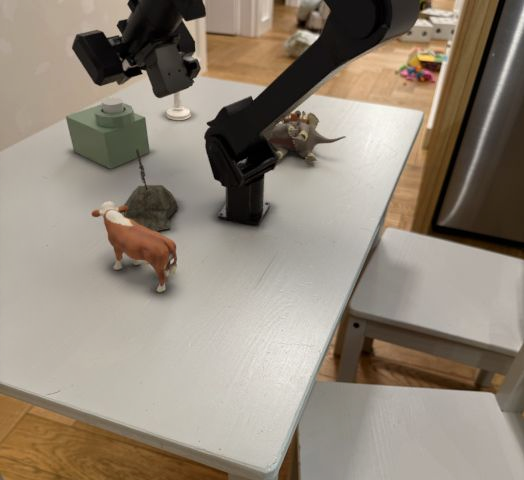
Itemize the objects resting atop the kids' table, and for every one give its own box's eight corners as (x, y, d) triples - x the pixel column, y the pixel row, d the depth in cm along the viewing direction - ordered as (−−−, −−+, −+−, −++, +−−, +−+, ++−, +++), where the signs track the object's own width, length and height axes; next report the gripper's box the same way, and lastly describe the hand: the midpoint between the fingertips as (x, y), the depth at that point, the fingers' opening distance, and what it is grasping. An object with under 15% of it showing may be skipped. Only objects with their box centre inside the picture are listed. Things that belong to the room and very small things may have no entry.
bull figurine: (119, 245, 69) (109, 191, 64) (188, 285, 64) (183, 230, 58) (94, 258, 67) (80, 203, 61) (162, 301, 61) (154, 245, 56)
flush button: (128, 111, 83) (126, 100, 82) (112, 117, 81) (110, 106, 80) (115, 106, 85) (113, 95, 83) (99, 112, 83) (96, 100, 81)
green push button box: (152, 153, 90) (146, 107, 84) (113, 170, 85) (104, 122, 79) (113, 136, 94) (105, 91, 88) (73, 151, 89) (62, 104, 83)
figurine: (229, 130, 85) (242, 97, 97) (232, 165, 89) (243, 128, 101) (347, 132, 83) (345, 97, 95) (344, 167, 87) (342, 130, 99)
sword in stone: (130, 197, 79) (117, 119, 70) (180, 199, 79) (173, 122, 70) (116, 232, 72) (100, 150, 63) (171, 235, 72) (162, 153, 63)
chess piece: (162, 118, 101) (156, 63, 94) (172, 109, 104) (167, 56, 97) (185, 121, 100) (180, 67, 93) (194, 113, 103) (191, 59, 96)
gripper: (141, 85, 62) (101, 147, 75) (237, 54, 73) (188, 112, 85) (87, -1, 60) (55, 77, 72) (195, -21, 70) (151, 51, 83)
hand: (118, 81), depth 78 cm, fingers closed
